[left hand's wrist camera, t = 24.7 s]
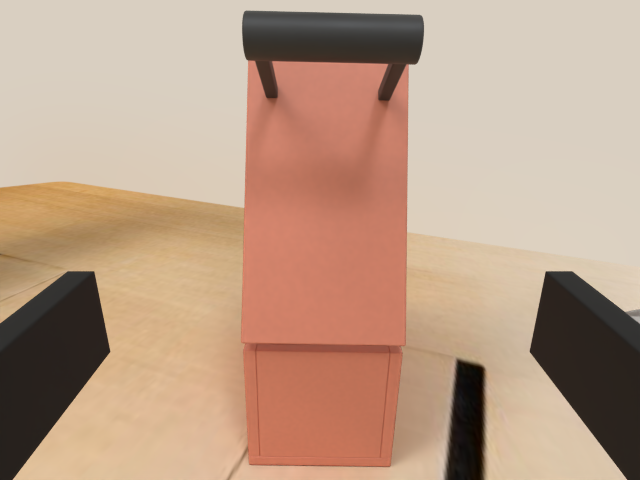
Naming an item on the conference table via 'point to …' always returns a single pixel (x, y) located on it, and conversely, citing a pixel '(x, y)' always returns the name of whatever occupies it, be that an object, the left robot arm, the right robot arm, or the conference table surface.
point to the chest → (321, 403)
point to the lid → (326, 177)
